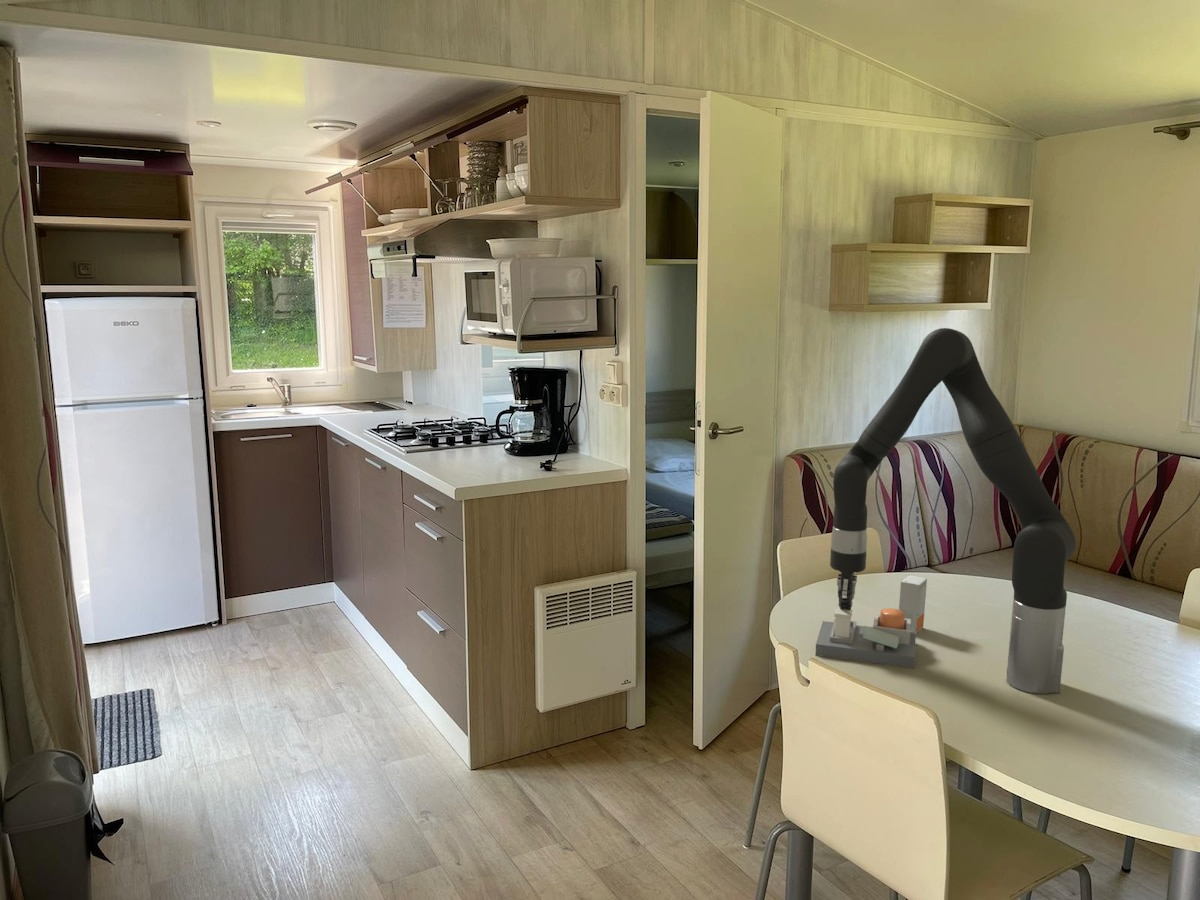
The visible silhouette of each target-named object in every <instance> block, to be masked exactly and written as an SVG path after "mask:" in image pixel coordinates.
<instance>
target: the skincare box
mask: <svg viewBox="0 0 1200 900" xmlns="http://www.w3.org/2000/svg"><path fill="white" fill-rule="evenodd" d="M927 584H928V578H925V577H921V576H915V575H908V576H907V577H905V578H903V580H901V582H900V590H899V601H898V603H899V604H898V610H901V611H903V612H904V613H905V619H911V626H910V632H916V634H918V632H919V631H921V630H922V629H923V628H924V623H925V608H926V598H927V587H928V586H927Z"/></svg>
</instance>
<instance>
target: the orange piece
mask: <svg viewBox="0 0 1200 900" xmlns="http://www.w3.org/2000/svg"><path fill="white" fill-rule="evenodd" d="M904 620H905V613H904V612H903V611H901V610H899V608H898V609H897V608H892V607H891V608H889V607H888V608H887V607H886V608H882V609H881V610H880V627H888V628H896V629H904Z"/></svg>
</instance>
